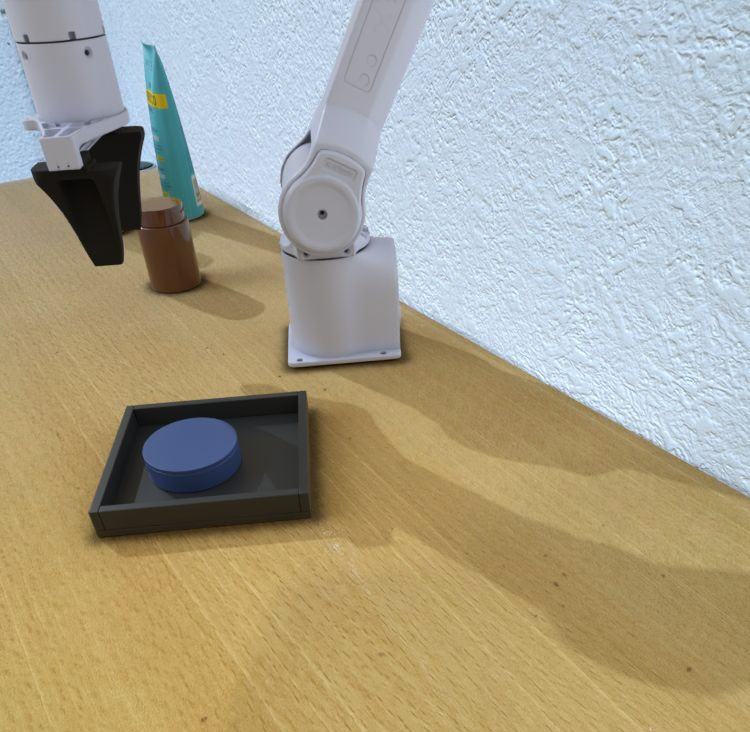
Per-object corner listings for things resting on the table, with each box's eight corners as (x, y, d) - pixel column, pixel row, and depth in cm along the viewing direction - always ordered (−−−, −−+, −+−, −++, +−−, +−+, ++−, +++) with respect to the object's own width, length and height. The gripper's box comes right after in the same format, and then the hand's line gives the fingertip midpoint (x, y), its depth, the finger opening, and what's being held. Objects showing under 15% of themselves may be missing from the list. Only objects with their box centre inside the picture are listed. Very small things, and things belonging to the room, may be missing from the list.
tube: (159, 212, 93) (119, 41, 81) (194, 205, 95) (159, 37, 82) (178, 227, 88) (137, 47, 76) (213, 219, 90) (180, 42, 77)
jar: (201, 271, 76) (185, 193, 71) (200, 289, 72) (183, 208, 67) (153, 276, 75) (133, 198, 70) (149, 295, 71) (128, 214, 66)
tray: (309, 412, 53) (306, 390, 51) (311, 517, 43) (308, 492, 42) (133, 428, 52) (126, 405, 51) (97, 537, 43) (87, 513, 41)
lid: (139, 497, 45) (132, 475, 44) (156, 442, 50) (150, 421, 49) (237, 489, 45) (232, 467, 44) (245, 435, 50) (240, 414, 49)
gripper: (31, 29, 51) (89, 219, 60) (-43, 57, 40) (41, 286, 48) (128, 23, 51) (171, 213, 60) (82, 49, 40) (143, 278, 49)
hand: (119, 245), depth 54 cm, fingers open, 7 cm apart
